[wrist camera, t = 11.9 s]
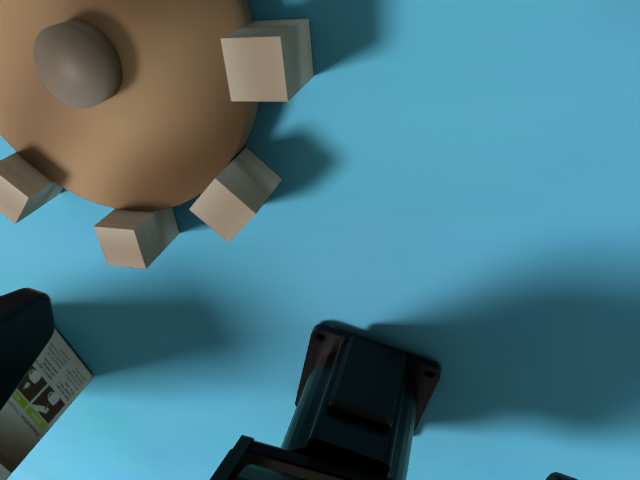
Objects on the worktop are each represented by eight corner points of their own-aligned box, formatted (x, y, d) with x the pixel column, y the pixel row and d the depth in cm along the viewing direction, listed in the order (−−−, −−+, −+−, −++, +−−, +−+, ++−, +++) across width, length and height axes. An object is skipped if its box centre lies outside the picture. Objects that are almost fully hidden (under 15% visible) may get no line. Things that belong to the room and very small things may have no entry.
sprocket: (409, 46, 18) (396, 69, 15) (177, 289, 27) (146, 326, 25) (-211, -593, 13) (-365, -700, 11) (-228, -40, 23) (-312, -32, 21)
